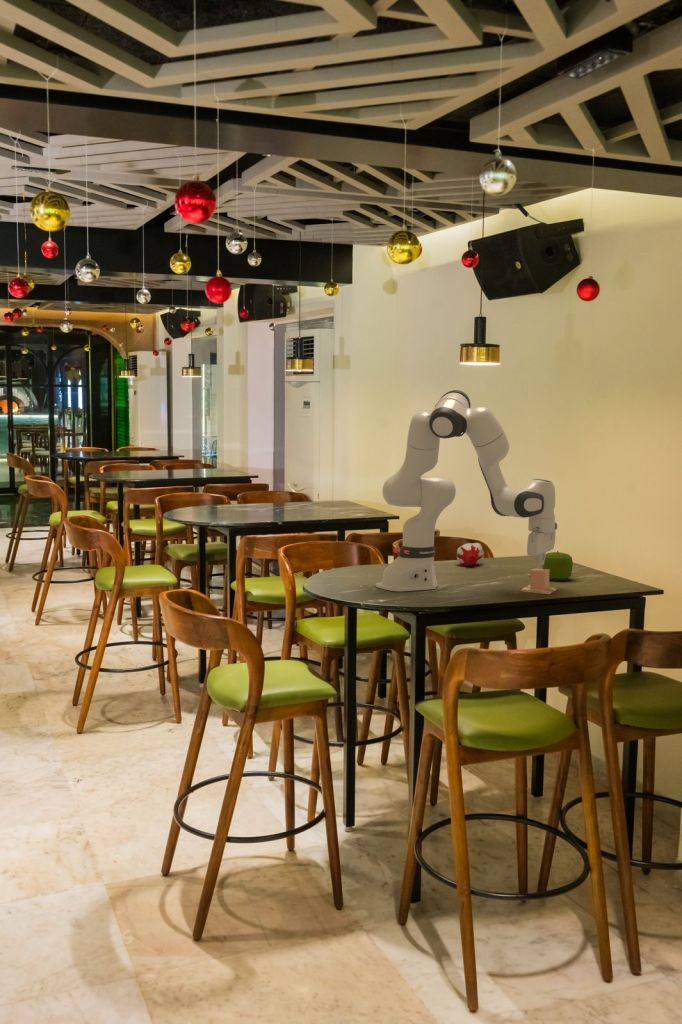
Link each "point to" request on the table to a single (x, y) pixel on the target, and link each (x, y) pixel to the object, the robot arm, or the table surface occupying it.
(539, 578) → the salmon orange block
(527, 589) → the post stand
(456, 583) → the table surface
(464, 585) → the table surface
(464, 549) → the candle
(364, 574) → the table surface
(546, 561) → the apple
